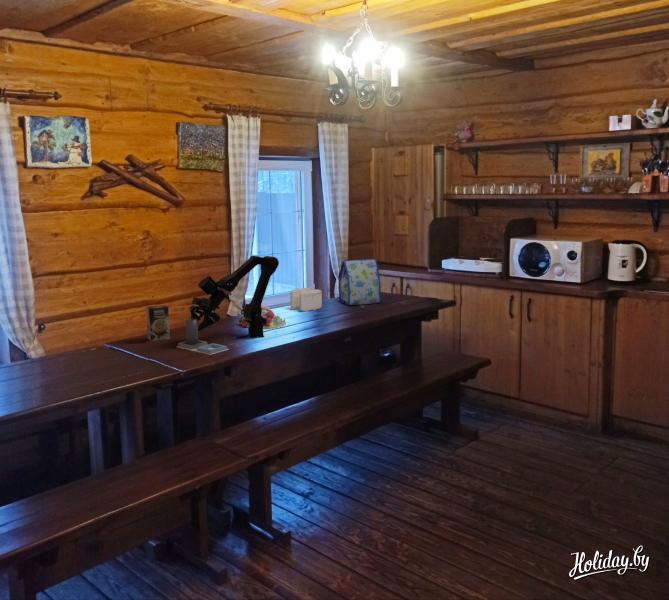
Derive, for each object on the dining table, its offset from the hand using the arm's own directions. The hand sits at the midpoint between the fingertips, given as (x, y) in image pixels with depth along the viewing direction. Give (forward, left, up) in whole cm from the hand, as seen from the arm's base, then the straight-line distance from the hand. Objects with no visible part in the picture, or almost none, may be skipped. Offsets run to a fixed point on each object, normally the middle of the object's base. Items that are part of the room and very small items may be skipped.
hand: (193, 328), depth 301 cm
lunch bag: (-98, -83, -9) cm, 129 cm away
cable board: (-3, +5, -9) cm, 11 cm away
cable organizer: (-64, -72, -9) cm, 97 cm away
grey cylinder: (+1, 0, -8) cm, 8 cm away
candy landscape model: (-36, -42, -9) cm, 56 cm away
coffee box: (+16, -19, -9) cm, 26 cm away
